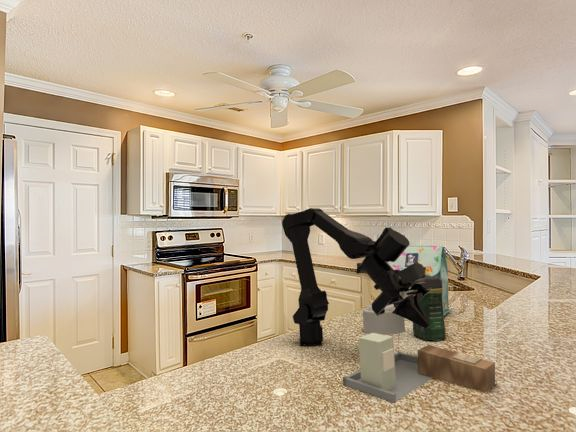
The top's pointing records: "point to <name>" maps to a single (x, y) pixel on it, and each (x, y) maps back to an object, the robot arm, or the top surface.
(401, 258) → the lunch bag
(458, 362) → the walnut box
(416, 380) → the parts tray
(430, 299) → the coffee jar
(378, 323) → the lumpy-topped squat cylinder
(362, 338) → the sage box
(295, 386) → the top surface
